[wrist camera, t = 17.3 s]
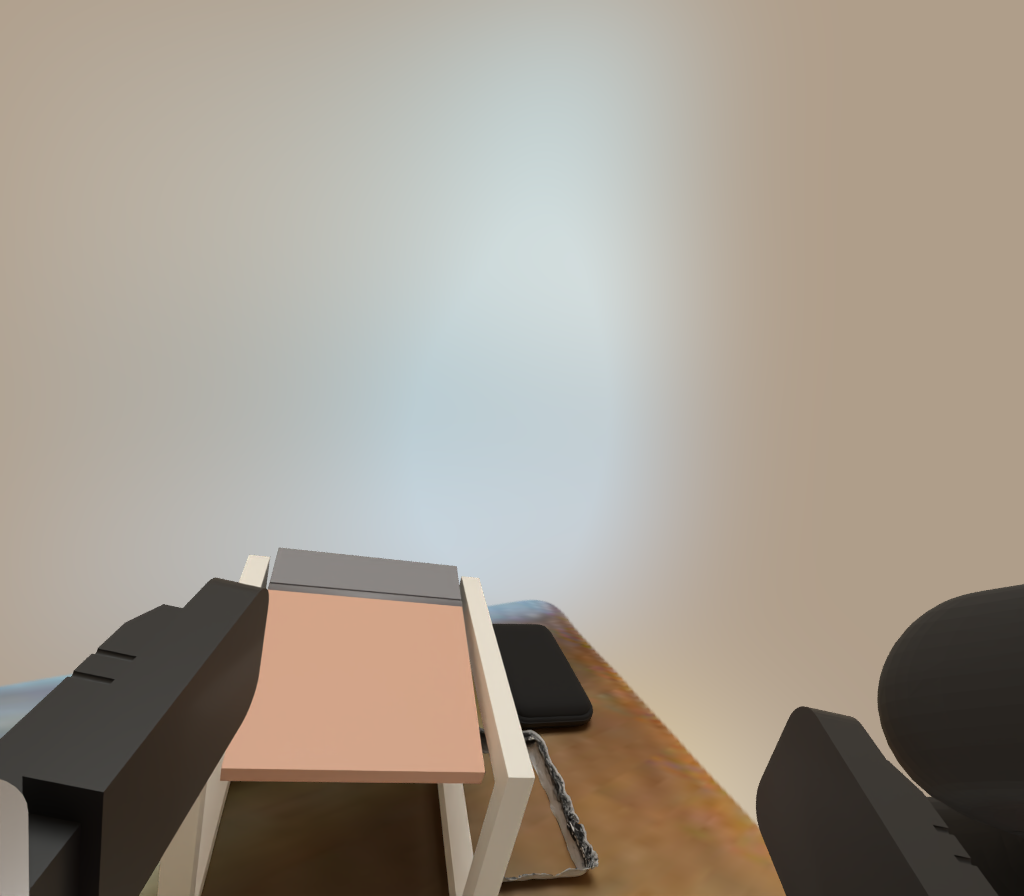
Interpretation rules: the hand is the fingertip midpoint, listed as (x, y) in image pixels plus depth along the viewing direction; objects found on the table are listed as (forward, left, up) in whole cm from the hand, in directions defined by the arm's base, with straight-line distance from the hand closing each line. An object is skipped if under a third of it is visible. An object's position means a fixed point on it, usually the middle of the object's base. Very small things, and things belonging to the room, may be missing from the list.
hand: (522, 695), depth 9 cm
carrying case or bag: (-19, -45, -37) cm, 61 cm away
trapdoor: (-1, -29, -25) cm, 38 cm away
